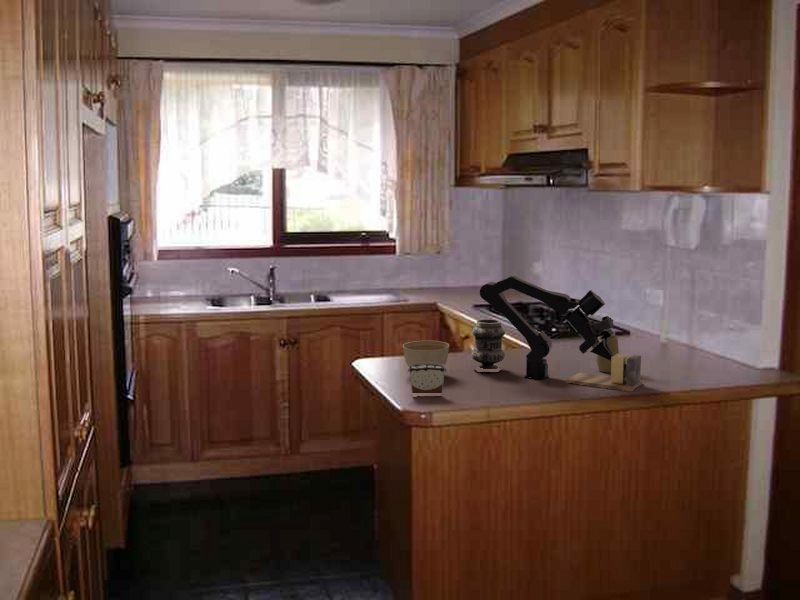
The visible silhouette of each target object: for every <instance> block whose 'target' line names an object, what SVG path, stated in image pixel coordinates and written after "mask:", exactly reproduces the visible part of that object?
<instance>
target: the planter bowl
mask: <svg viewBox="0 0 800 600" xmlns="http://www.w3.org/2000/svg"><path fill="white" fill-rule="evenodd" d="M402 350H403V356H404V359H405V363H406V365H407V367H408V368H409V366H410V365H411V364H414V363H421V362H433V363H440V364H443V365H445V366H446V364H447V361H448V357H449V353H450V352H449V351H450V344H449V343H448V342H446V341H445V342H443V341H440V340H416V341H410V342H406V343H403V345H402Z"/></svg>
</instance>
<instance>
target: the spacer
mask: <svg viewBox="0 0 800 600" xmlns="http://www.w3.org/2000/svg"><path fill="white" fill-rule="evenodd" d="M629 357H630V354H627V353H619V354H616V355H614V356H612V357H611V372H610V376H611V383H619V384H623V383H625V382H626V378H625V377H624V367H625V365H626V364H627V359H628V358H629Z"/></svg>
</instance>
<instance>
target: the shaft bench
mask: <svg viewBox="0 0 800 600" xmlns="http://www.w3.org/2000/svg"><path fill="white" fill-rule="evenodd" d="M641 366H642V355H640V354H639V355H637V354H633V355H631V356H629V358H628V359H627V364H626V365H625V367H624V377H625V378H626V382H625V383H623V384H619V383H611V375H602V374H593V373H587V372H585V373H584V372H577V373H576V374H574V375H572V376H570V377H569V378H567V379H566V380H565V384H568V383H573V384H572V385H576V384H579V385H578V386H583V385H587V386H586V387H591V386H593V388H599V387H601V389H606V388H608V389H607V390H614V389H615V390H616V391H623V392H633V391H634V390H636V389H637V388H638V387H640V386H642V385H643V379H641V370H642V369H641ZM635 388H636V389H635Z"/></svg>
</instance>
